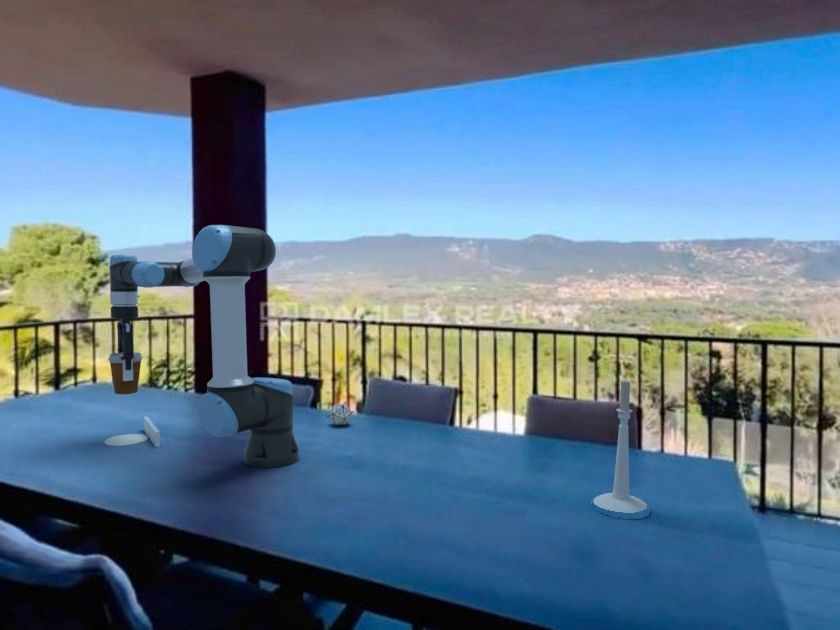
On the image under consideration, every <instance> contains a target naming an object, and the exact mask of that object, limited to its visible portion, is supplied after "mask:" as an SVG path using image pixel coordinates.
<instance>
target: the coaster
mask: <svg viewBox="0 0 840 630" xmlns="http://www.w3.org/2000/svg"><path fill="white" fill-rule="evenodd" d="M148 439H149V437H148V436H147V434H142V433H141V434H140V433H130V434H129V433H128V434H127V433H126V434H120V435H119V434H118V435H115V436H111V437H108V438H107V439H105V440H104V444H105V445H106V446H110V447H126V446H135V445H138V444H142V443H145V442H146V441H148Z"/></svg>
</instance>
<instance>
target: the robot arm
mask: <svg viewBox="0 0 840 630" xmlns="http://www.w3.org/2000/svg"><path fill="white" fill-rule="evenodd" d="M192 243H193V244H192V250H191V255H192V258H188V259H186V260H182V261H179V262H176V261H175V262H169V261H151V260H150V261H149V260H148V261H147V260H144V261H138V257H137V256H136V255H133V254H113V255H112V254H111V256H110V257H109V267H108V268H109V282H110V283H109V286H110V290H109V291H110V292H109V299H110V300H109V303H110V305H112V306H111V307H110V317H111V319H113V320H119V321H117V323H116V329H117V350H116V351H117V353H121V352H123V357H121V360H123V381H131V380H133V358H134V338H133V337H134V335H133V330H134V325H133V324H132V323H131V319H132V320H133V319H137V318H139V307H138V306H137V305H138V302H139V300H138V298H139V299H140V297H141V295H140V294H138V291H139V287H140V288H145V289H147V288H151V289H152V288H160V287H162V288H165V287H184V288H189V287H197V286H198V285H200V283H201V282H204V281H205V282H207V283H208V285H209V300H210V325H211V351H212V352H211V353H212V355H211V358H212V359H211V361H212V378H211V379H210V380H209V381H208V382H207V384H206V393H204V394H202V395H201V396H200V398H199V400H198V402H197V414H198V418H199V420H200V423H201V425H202V427H204V429H205V430H206V431H207V433H209V434H210V435H212V436H215V437H217V438H219V437H227V436H235V435H236V434H239V433H243V432H246V431H249V432H250V433H249V437H248V440H247V442H246V446H245V450H244V453H243V462H244V464H246V465H247V466H251V467H255V468H263V469H264V468H267V469H268V467H269V468H278V467H279V466H280V467H284V466H289V465H291V464H293V463H294V464H295V463H296V462H297V461H298V460H300V449H299V446H298V443H297V440H296V438H295V434H294V431H293V430H294V427H293V426H294V425H293V424H294V422H293V421H294V419H293V418H294V392H293V383H292V382H291V381H290V380H288V379H284V378H275V377H274V378H273V377H252V378H251V377H250V376H249V375H248V353H247V352H248V351H247V348H248V347H247V323H246V322H247V321H246V318H247V317H246V315H247V314H246V293H245V292H246V289H245V288H246V287H245V285H246V283H247V282H248V281H249V280H250V279H251V273H253V272H259V271H262V270H265V269H267V268H269V267H270V266H271V265H272V264H273V262H274V261H275V258H276V255H277V254H276V253H277V250H276V249H277V248H276V245H275V242H274V239H273V238H272V236H271V235H270V234H268V233H267V232H265V231H264V230H262V229H259V228H255V227H243V226H234V225H227V224H210V225H207V226H205V227H203V228H201V230H200V231H198V234H196V236H195V239H194V240H193V242H192Z"/></svg>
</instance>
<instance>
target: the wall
mask: <svg viewBox="0 0 840 630" xmlns="http://www.w3.org/2000/svg"><path fill="white" fill-rule="evenodd" d="M143 431H144V433H145V435H146V436H147V437H148V439H149V440H150V441H151V442H152V444H153V445H154V447H155V448H160V447H161V432H160V430H159V429H158V427H156V425H155V424H154V423H153V422H152V420H151V419H150V418H149V417H148V416H143Z"/></svg>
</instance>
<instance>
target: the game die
mask: <svg viewBox="0 0 840 630" xmlns="http://www.w3.org/2000/svg"><path fill="white" fill-rule="evenodd" d="M331 405H332V407H331V409H330V411H329V415H326V418H329V419H330V420H331V422H333V423H334V428H336V427H337V426H341V425H347V426H348V425H349V426H350V424H349V421H350V418H351V416H352V414H353V413H355V411H353V410H351V409H350V408H349V406H348V405H347V402H346V401H345V402H344V403H336V404H334V403H333V402H331Z"/></svg>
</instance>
